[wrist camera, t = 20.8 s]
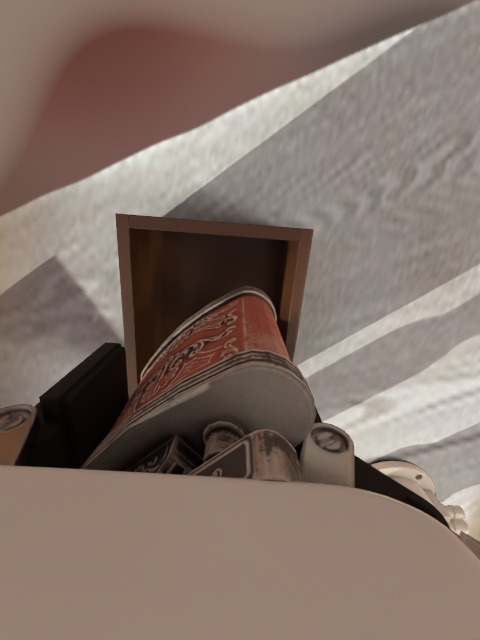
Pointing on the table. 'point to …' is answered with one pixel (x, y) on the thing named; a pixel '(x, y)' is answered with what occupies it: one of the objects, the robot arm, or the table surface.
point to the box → (202, 276)
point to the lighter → (216, 400)
